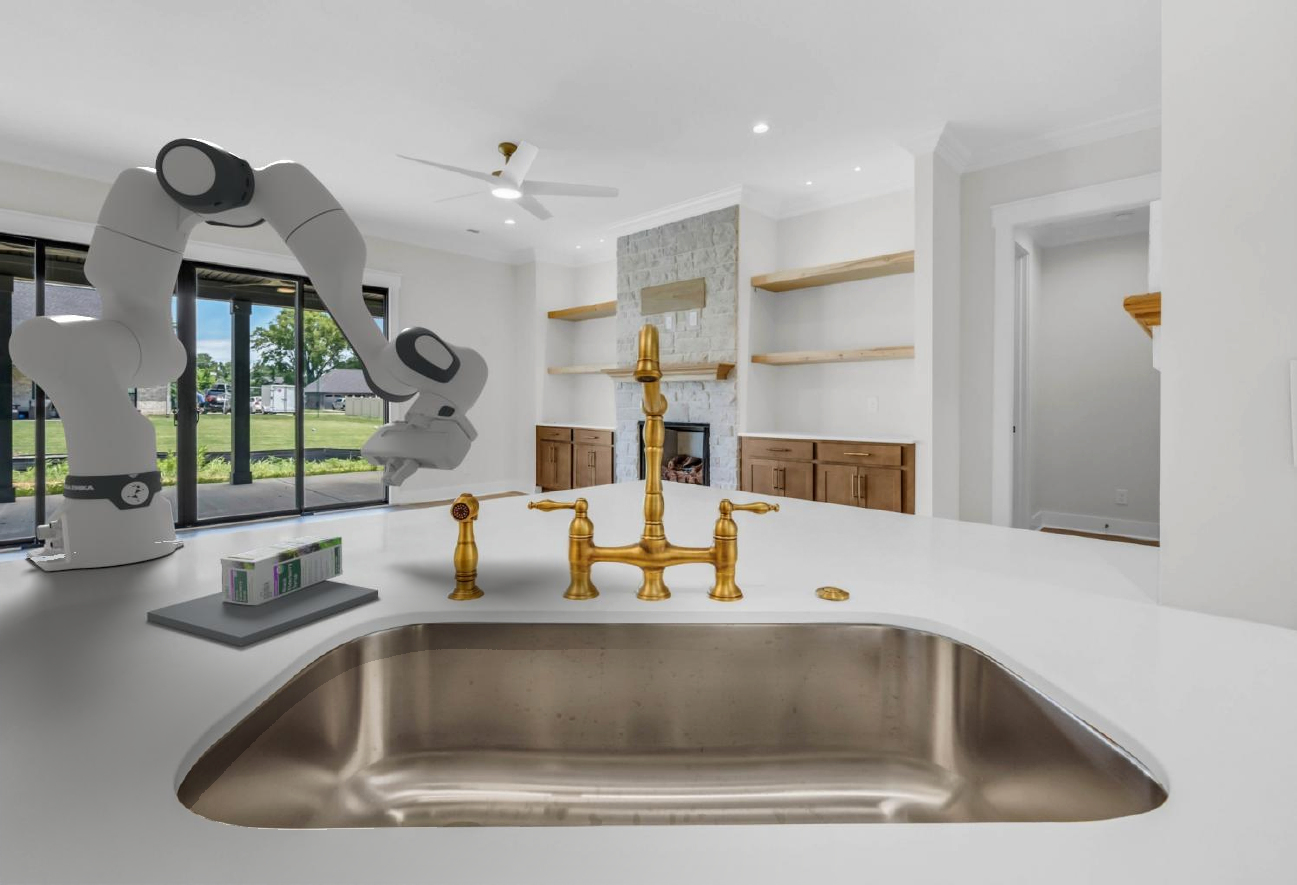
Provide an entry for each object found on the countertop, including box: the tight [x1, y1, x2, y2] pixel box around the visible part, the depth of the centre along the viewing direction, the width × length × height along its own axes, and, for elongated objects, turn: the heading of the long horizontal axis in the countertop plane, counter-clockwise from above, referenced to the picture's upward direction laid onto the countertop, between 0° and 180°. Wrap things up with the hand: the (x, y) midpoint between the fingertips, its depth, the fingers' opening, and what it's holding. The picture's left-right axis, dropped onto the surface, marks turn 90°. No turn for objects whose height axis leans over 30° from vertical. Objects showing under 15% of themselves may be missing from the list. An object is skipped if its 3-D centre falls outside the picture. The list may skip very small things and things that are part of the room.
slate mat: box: [146, 579, 379, 648], centre depth 78 cm, size 18×18×1 cm
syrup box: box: [219, 534, 344, 606], centre depth 83 cm, size 6×6×14 cm
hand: (389, 484), depth 101 cm, fingers closed
